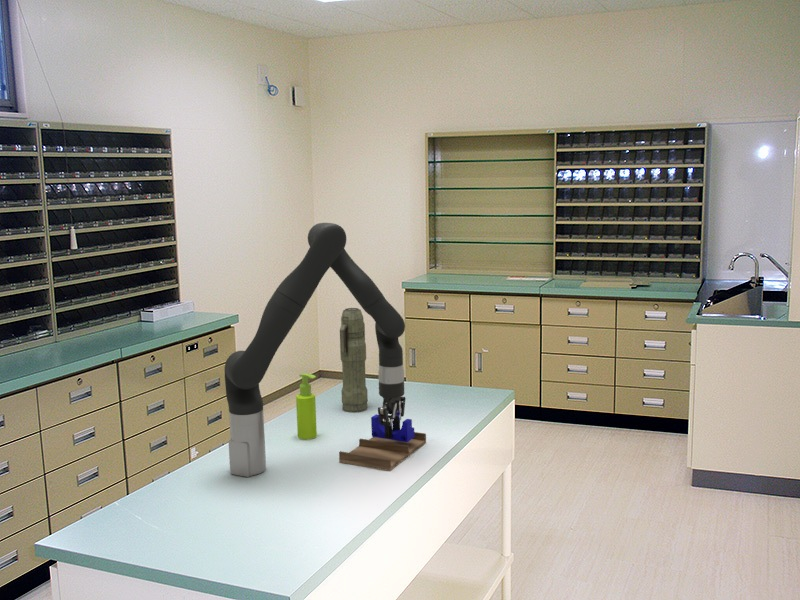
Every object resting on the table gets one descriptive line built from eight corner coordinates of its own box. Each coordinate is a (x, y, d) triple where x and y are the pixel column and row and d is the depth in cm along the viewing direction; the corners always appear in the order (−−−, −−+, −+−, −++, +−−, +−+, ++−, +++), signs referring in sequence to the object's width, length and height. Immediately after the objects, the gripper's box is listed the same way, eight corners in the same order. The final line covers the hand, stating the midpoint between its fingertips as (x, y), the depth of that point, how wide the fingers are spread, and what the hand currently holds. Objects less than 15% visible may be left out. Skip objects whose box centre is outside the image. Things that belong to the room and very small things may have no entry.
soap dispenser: (310, 441, 239) (307, 377, 235) (293, 437, 243) (291, 374, 240) (323, 436, 243) (320, 373, 240) (307, 432, 247) (304, 370, 244)
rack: (389, 470, 214) (389, 460, 213) (339, 462, 221) (339, 452, 220) (426, 443, 235) (425, 433, 235) (378, 436, 242) (378, 426, 242)
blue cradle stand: (414, 437, 232) (414, 417, 231) (407, 442, 228) (407, 422, 227) (379, 431, 237) (378, 412, 236) (371, 436, 234) (371, 417, 232)
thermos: (334, 411, 268) (331, 311, 262) (352, 402, 278) (349, 305, 272) (357, 415, 264) (354, 312, 258) (374, 405, 274) (371, 307, 268)
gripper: (391, 386, 222) (393, 444, 225) (413, 374, 235) (414, 429, 237) (368, 384, 225) (370, 441, 228) (390, 372, 238) (392, 426, 241)
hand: (392, 434), depth 233 cm, fingers closed on blue cradle stand, 4 cm apart
